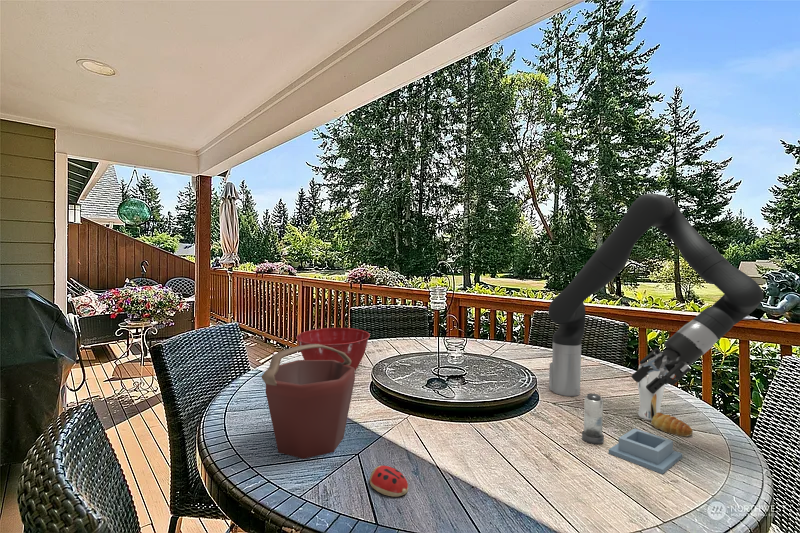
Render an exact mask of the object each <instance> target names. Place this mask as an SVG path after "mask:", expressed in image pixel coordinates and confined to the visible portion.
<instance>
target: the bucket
mask: <svg viewBox="0 0 800 533" xmlns="http://www.w3.org/2000/svg"><path fill="white" fill-rule="evenodd" d="M311 348H324V349H329V350H331V351H334V352H337V353H338V354H339V355H340V356H341V357H342V358H343V359H344V362H343V363H341V362H338V361H336V360H304V359H298V360H294V361H289V362H286V363H282V364H281V362H282V359H284V358H286V357H288V356H290V355H292V354H295V353H298V352H301V351H302V350H305V349H311ZM350 364H351V359H350V358H349V357H348V356H347V355H346V354H345V353H344V352H341V351H339V350H336V349H334V348H331V347H328V346H324V345H320V344H309V345H302V346H299V345H297V346H293V347H289V348H287V349H284V350H283V349H282V350H281V351H278V352H277V353H275V354H273V355H272V356H271V360H270V363H269V366H268V368H267V369H266V370H265V371H264V372H263V374H262V375H261V379H262V380H263V382H264V384H265V395H266V401H267V405H268V410H269V415H270V419H271V424H272V428H273V434H274V438H275V441H276V442H275V443H276V447H277V453H278V454H281V455H282V454H283V455H287V456H291V457H295V458H298V459H302V460H303V459H304V460H305V459H308V458H309V459H310V458H312V457H317V456H322V455H326V454H330V453H334V452H335V451H336V450H337V448H338V447H339V445H340V443H341V442H342V441H343V439H344V438H345V432H346V426H347V422H348V416H349V410H350V408H351V401H352V395H353V392H354V385H355V381H356V380H355V378H356V377H355V376H356V375H355V374H356V370H355V368H354V367H351V366H350Z"/></svg>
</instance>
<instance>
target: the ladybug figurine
mask: <svg viewBox="0 0 800 533" xmlns="http://www.w3.org/2000/svg"><path fill="white" fill-rule="evenodd" d="M369 484H370V486H371V488H372V489H374V490H375V491H376V492H378V493H379V494H381V495H385V496H386V497H392V498H394V497H395V498H396V497H397V498H398V497H401V496H404V495H406V494H407V493H408V491H409V483H408V481H407V478H406V477H405V475H404V474H403V473H402V472H400V471H399V469H396V468H394V467H392V466H387V465H378V466H376V467H375V468H374V469H372V472H371V474H370V475H369Z"/></svg>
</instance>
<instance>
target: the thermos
mask: <svg viewBox="0 0 800 533" xmlns="http://www.w3.org/2000/svg"><path fill="white" fill-rule="evenodd" d="M583 406H584V408H583V409H584V410H583V412H584V413H583V431H582V432H581V440H582V441H584V442H585V443H587V444H591V445H598V446H599V445H602V444H604V441H605V440H604V439H605V435H604V434H603V424H604V423H603V421H604V420H603V416H604V415H603V414H604V399H603V398H602V396H601V395H600V394H597V393H592V392H591V393H587V394H586V395H585V396H584V405H583Z"/></svg>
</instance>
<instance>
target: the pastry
mask: <svg viewBox="0 0 800 533" xmlns="http://www.w3.org/2000/svg"><path fill="white" fill-rule="evenodd" d="M650 422H651V423H650V424H651V425H652V426H653V427H654V429H657V430H661V431H662V432H664V433H667V434H671V435H674V436H679V437H690V436H692V434H693V429H692V428H691V427H690V425H688V424H687V423H685V422H683V421H682V420H680V419H678V418H677V417H676V416H672V415H670V414H663V413H662V412H661V413H659V412H658V413H656V414H655V415H654V416H653V418H652V421H650Z"/></svg>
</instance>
